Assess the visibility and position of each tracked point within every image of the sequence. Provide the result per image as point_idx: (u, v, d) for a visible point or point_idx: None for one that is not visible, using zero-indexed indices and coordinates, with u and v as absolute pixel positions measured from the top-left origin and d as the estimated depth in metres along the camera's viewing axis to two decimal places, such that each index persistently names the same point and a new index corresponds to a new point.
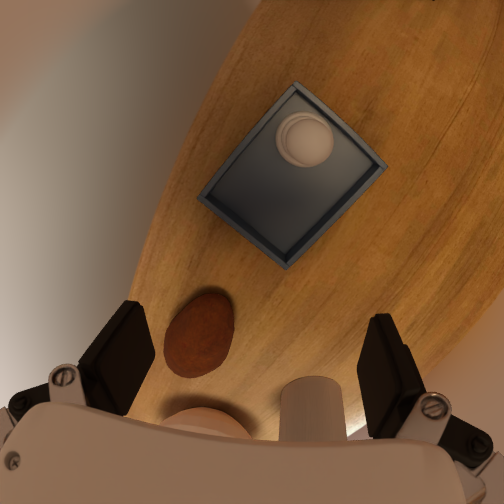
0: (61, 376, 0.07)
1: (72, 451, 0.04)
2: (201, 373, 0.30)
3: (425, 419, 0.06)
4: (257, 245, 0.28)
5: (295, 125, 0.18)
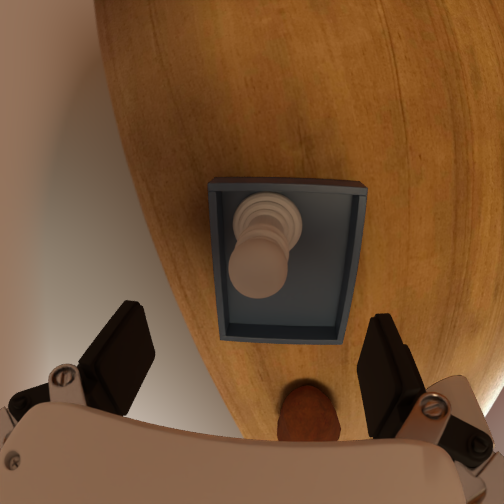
0: (61, 376, 0.07)
1: (72, 451, 0.04)
2: None
3: (425, 419, 0.06)
4: (300, 342, 0.25)
5: (229, 269, 0.16)
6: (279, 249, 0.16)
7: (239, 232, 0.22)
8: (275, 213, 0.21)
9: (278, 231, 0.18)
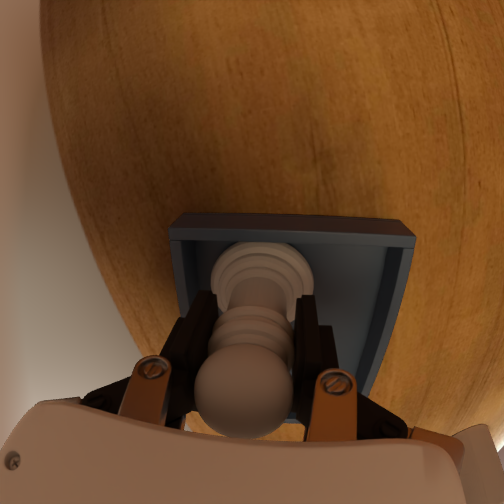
0: (150, 367, 0.08)
1: (72, 451, 0.04)
2: None
3: (332, 397, 0.07)
4: None
5: None
6: (280, 371, 0.08)
7: (220, 298, 0.15)
8: (274, 274, 0.13)
9: (279, 319, 0.11)
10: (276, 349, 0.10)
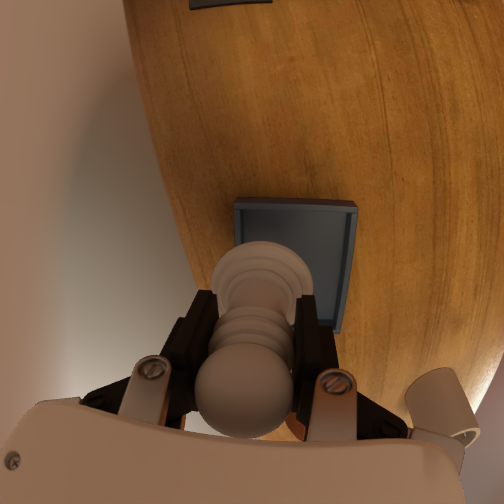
0: (150, 367, 0.08)
1: (72, 451, 0.04)
2: None
3: (332, 397, 0.07)
4: None
5: (195, 397, 0.08)
6: (281, 369, 0.08)
7: (220, 301, 0.15)
8: (273, 277, 0.13)
9: (279, 320, 0.11)
10: (276, 349, 0.10)
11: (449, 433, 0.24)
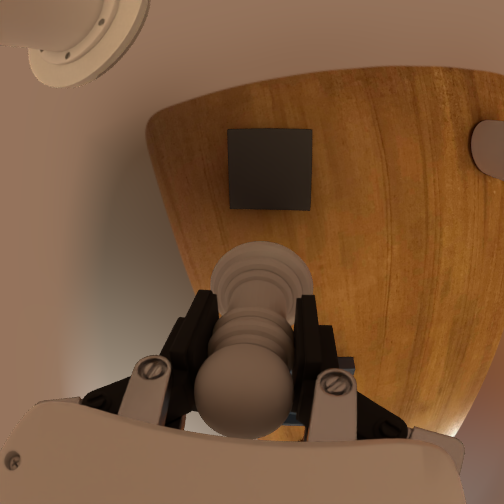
0: (150, 367, 0.08)
1: (72, 451, 0.04)
2: None
3: (332, 397, 0.07)
4: None
5: None
6: (280, 370, 0.08)
7: (220, 301, 0.15)
8: (273, 277, 0.13)
9: (278, 320, 0.11)
10: (276, 349, 0.10)
11: None
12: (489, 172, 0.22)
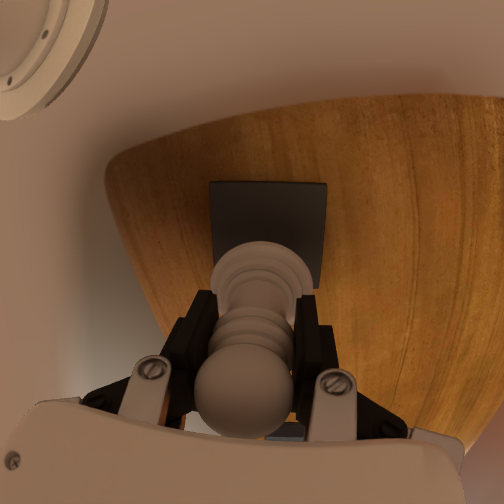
0: (150, 367, 0.08)
1: (72, 451, 0.04)
2: None
3: (332, 397, 0.07)
4: None
5: None
6: (280, 369, 0.08)
7: (220, 301, 0.15)
8: (273, 277, 0.13)
9: (278, 320, 0.11)
10: (276, 349, 0.10)
11: None
12: None
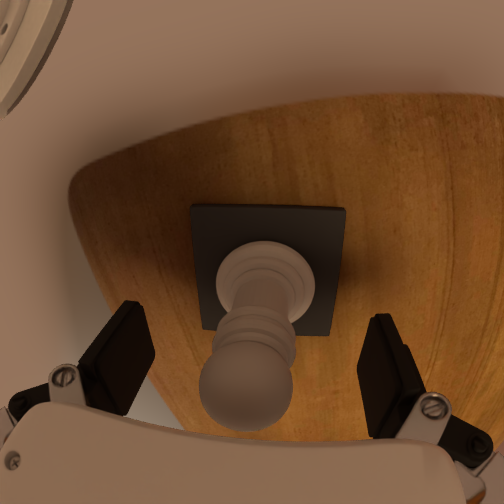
0: (61, 376, 0.07)
1: (72, 451, 0.04)
2: None
3: (425, 419, 0.06)
4: None
5: (199, 392, 0.09)
6: (280, 366, 0.09)
7: (225, 298, 0.15)
8: (276, 276, 0.14)
9: (280, 319, 0.11)
10: (277, 347, 0.10)
11: None
12: None
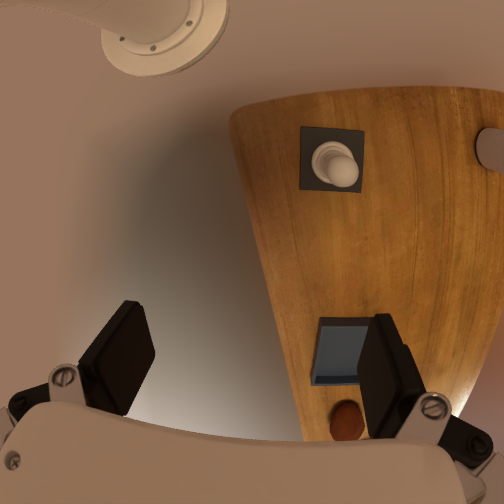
0: (61, 376, 0.07)
1: (72, 451, 0.04)
2: (356, 439, 0.48)
3: (425, 419, 0.06)
4: (350, 384, 0.47)
5: (329, 169, 0.27)
6: None
7: (317, 165, 0.33)
8: (340, 152, 0.32)
9: None
10: None
11: None
12: (490, 167, 0.29)
